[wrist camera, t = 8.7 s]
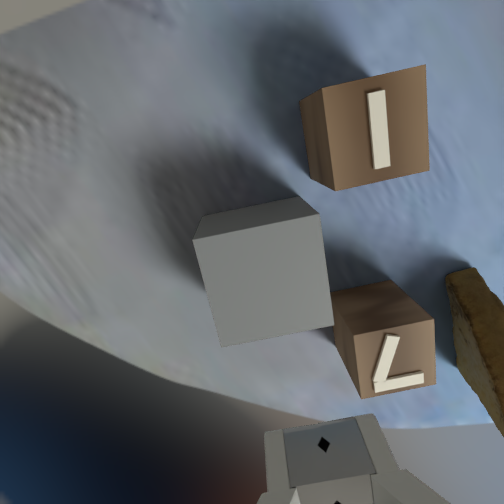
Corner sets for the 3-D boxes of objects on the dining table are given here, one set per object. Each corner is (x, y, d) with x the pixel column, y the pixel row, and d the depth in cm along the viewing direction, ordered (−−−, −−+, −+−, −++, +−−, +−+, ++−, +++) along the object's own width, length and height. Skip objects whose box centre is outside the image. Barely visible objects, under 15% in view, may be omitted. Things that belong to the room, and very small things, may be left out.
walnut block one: (374, 84, 21) (427, 63, 16) (381, 162, 23) (431, 170, 17) (298, 101, 22) (323, 87, 16) (310, 178, 23) (336, 191, 17)
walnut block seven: (390, 279, 26) (436, 320, 20) (394, 333, 28) (437, 386, 22) (327, 292, 26) (354, 337, 20) (335, 345, 28) (362, 401, 22)
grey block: (299, 195, 24) (319, 213, 18) (312, 284, 26) (334, 325, 20) (202, 215, 24) (192, 239, 18) (224, 302, 26) (221, 347, 20)
